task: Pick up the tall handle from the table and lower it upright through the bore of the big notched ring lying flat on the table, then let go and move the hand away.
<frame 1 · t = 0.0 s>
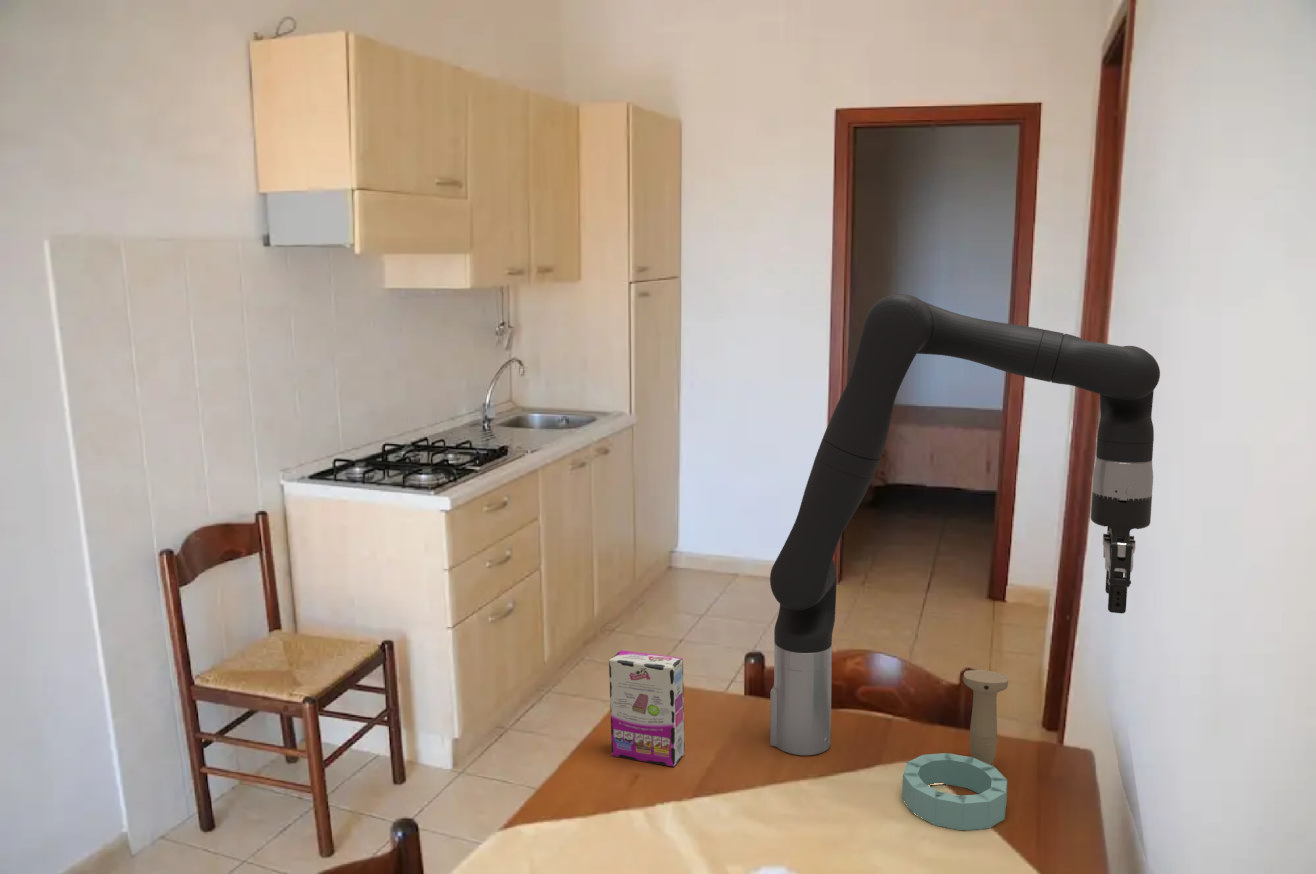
hand: (1115, 602, 134), 29 cm above the table, tool pointing down, fingers open, 8 cm apart
handle: (982, 769, 147), on the table
notched ring: (953, 803, 137), on the table
candy bar box: (648, 756, 152), on the table
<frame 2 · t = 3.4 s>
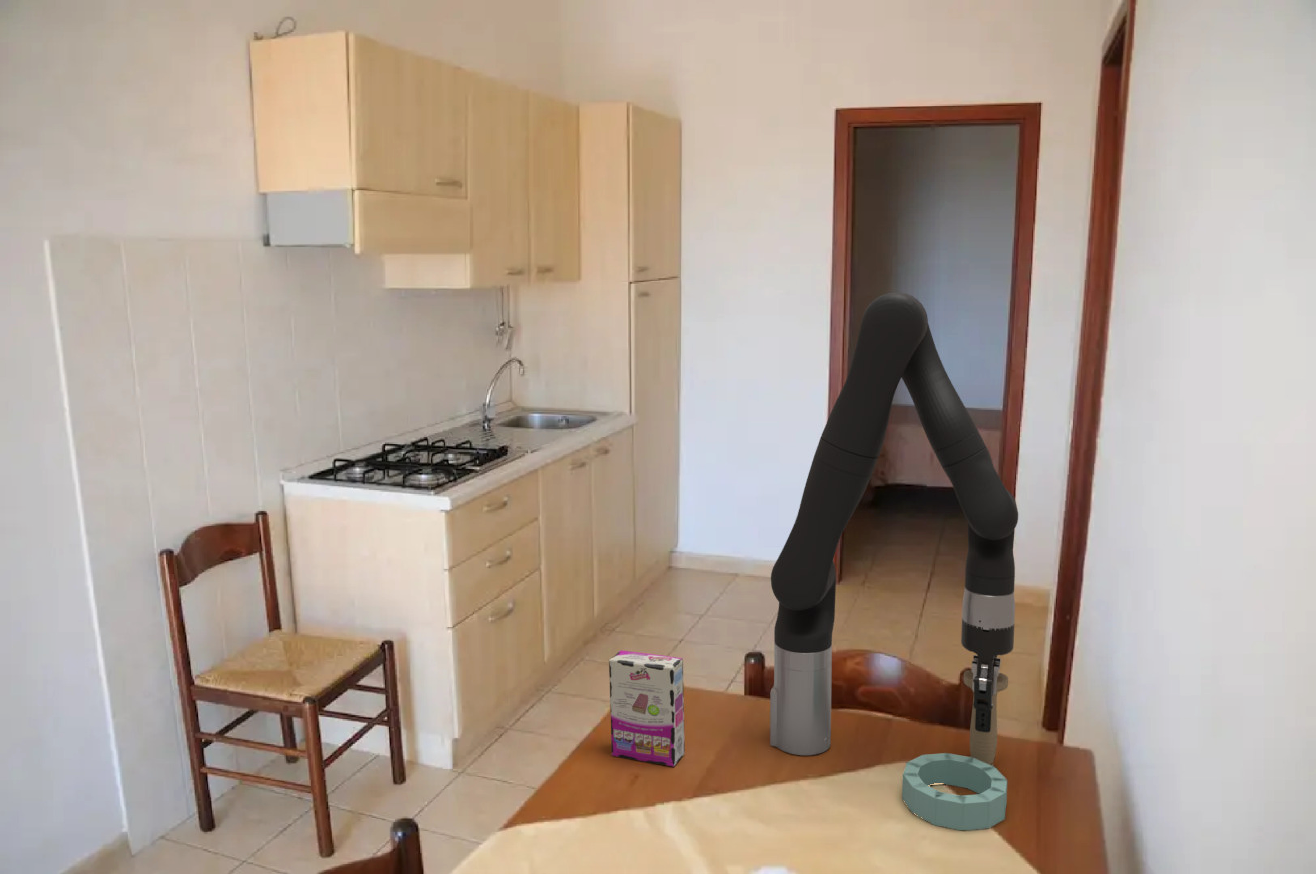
hand: (983, 724, 146), 7 cm above the table, tool pointing down, fingers closed on handle, 3 cm apart
handle: (982, 769, 147), on the table, touching gripper
everything else where it was.
when the fingers open (9 cm above the table, at t = 9.5 s): handle moves 1 cm, resting in notched ring.
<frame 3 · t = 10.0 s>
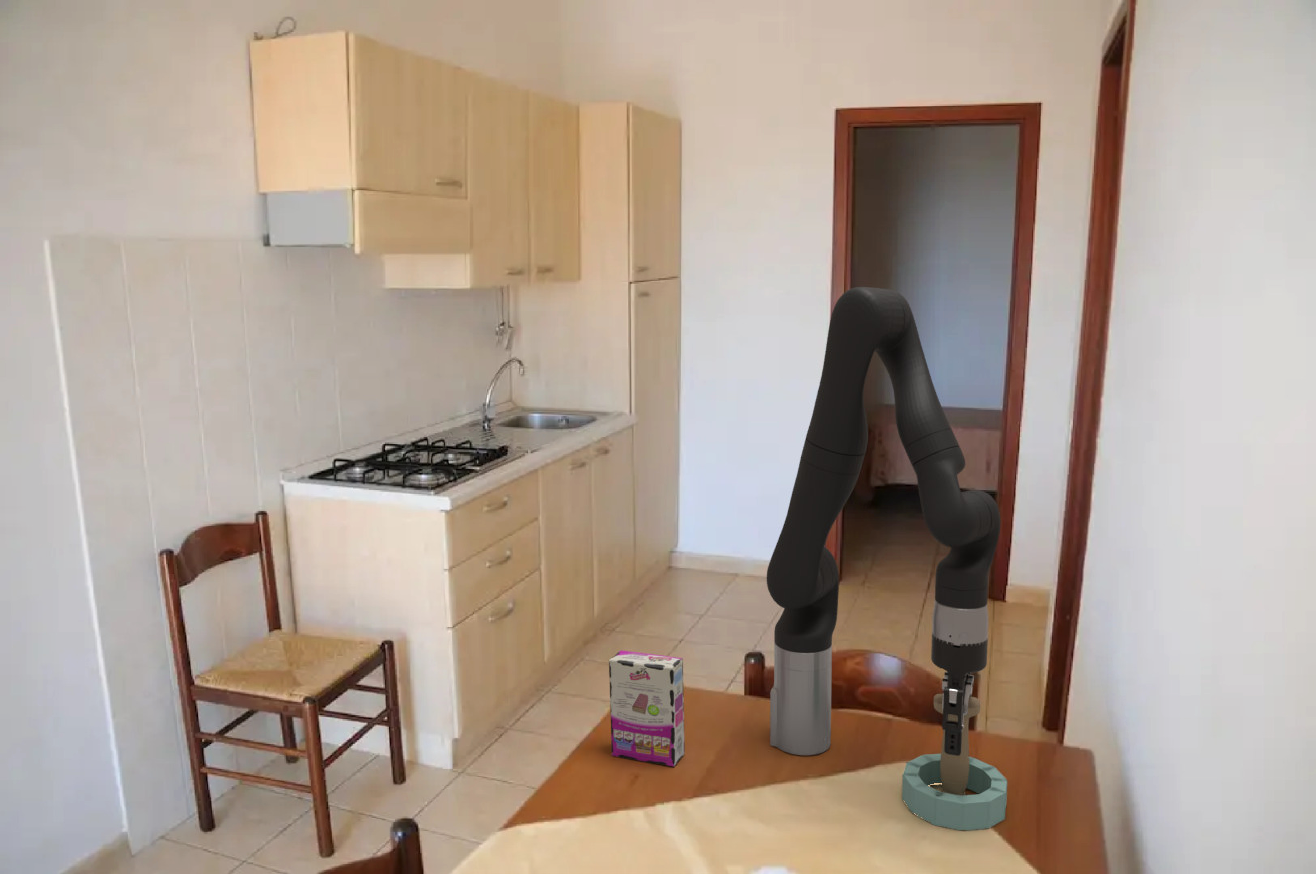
hand: (955, 740, 135), 10 cm above the table, tool pointing down, fingers open, 8 cm apart
handle: (953, 799, 138), resting in notched ring
everything else where it was.
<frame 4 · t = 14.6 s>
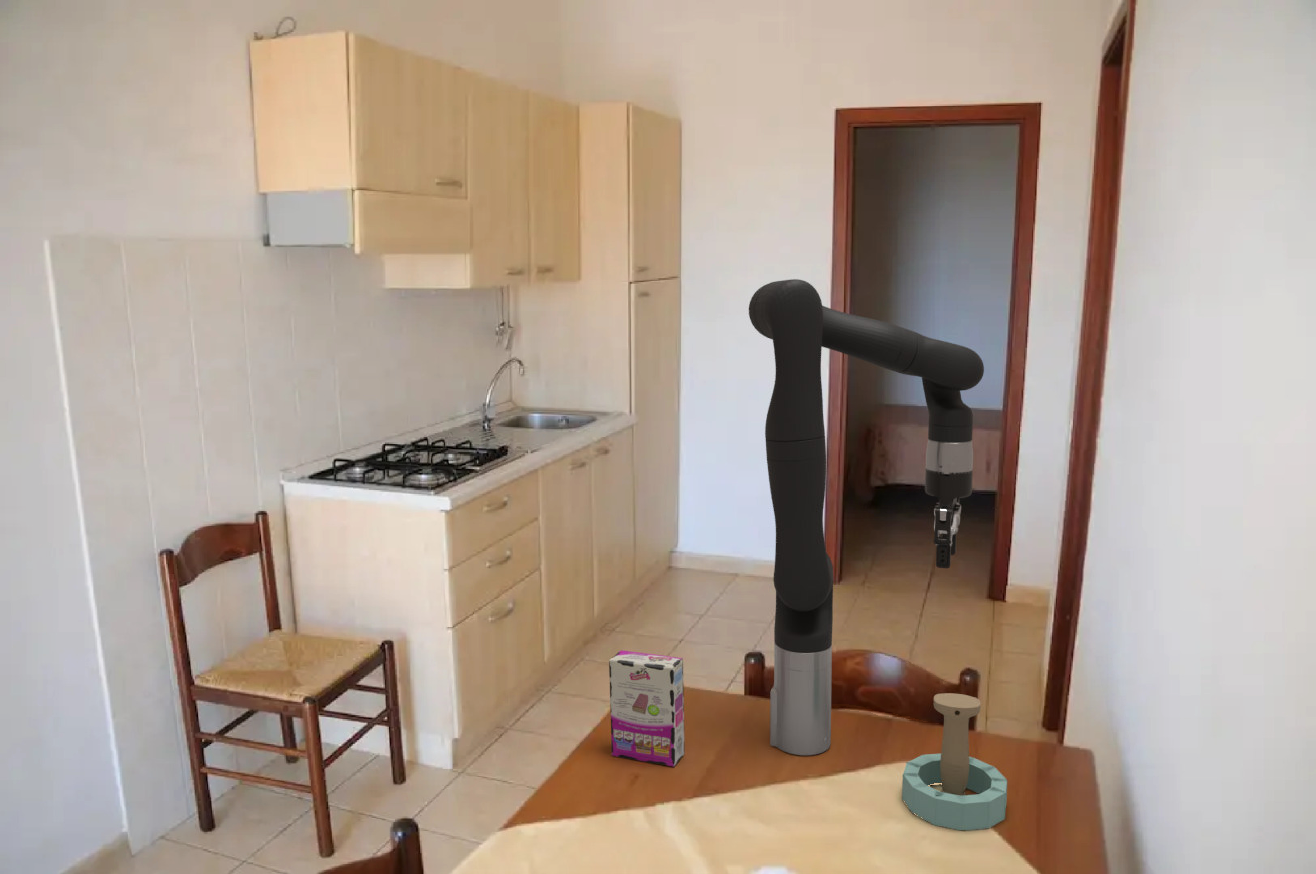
hand: (946, 560, 160), 28 cm above the table, tool pointing down, fingers open, 8 cm apart
nothing on the table moved.
at the end: handle 1.5 cm from the notched ring (horizontally); handle tilted 0°; the gripper is holding nothing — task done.
